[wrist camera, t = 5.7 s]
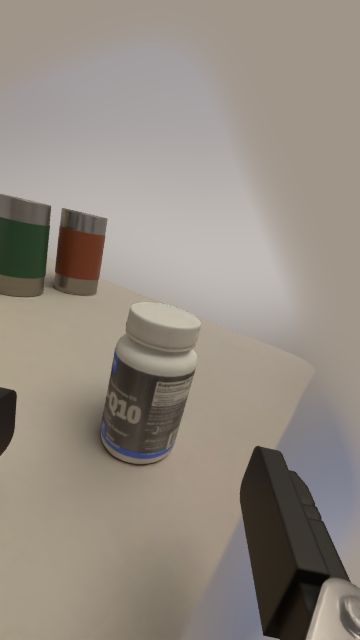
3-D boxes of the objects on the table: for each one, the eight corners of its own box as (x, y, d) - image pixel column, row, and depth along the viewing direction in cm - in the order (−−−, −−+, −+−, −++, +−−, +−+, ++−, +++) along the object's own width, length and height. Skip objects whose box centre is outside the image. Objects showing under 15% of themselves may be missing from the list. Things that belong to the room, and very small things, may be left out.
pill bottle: (87, 423, 18) (107, 297, 16) (148, 407, 21) (173, 300, 19) (122, 480, 15) (154, 331, 12) (189, 451, 18) (225, 327, 16)
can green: (52, 290, 43) (60, 207, 40) (27, 300, 37) (34, 202, 33) (8, 280, 43) (13, 196, 40) (-24, 288, 37) (-22, 188, 33)
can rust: (102, 290, 50) (112, 219, 47) (88, 298, 44) (100, 217, 40) (64, 281, 50) (72, 210, 47) (45, 288, 44) (53, 206, 40)
